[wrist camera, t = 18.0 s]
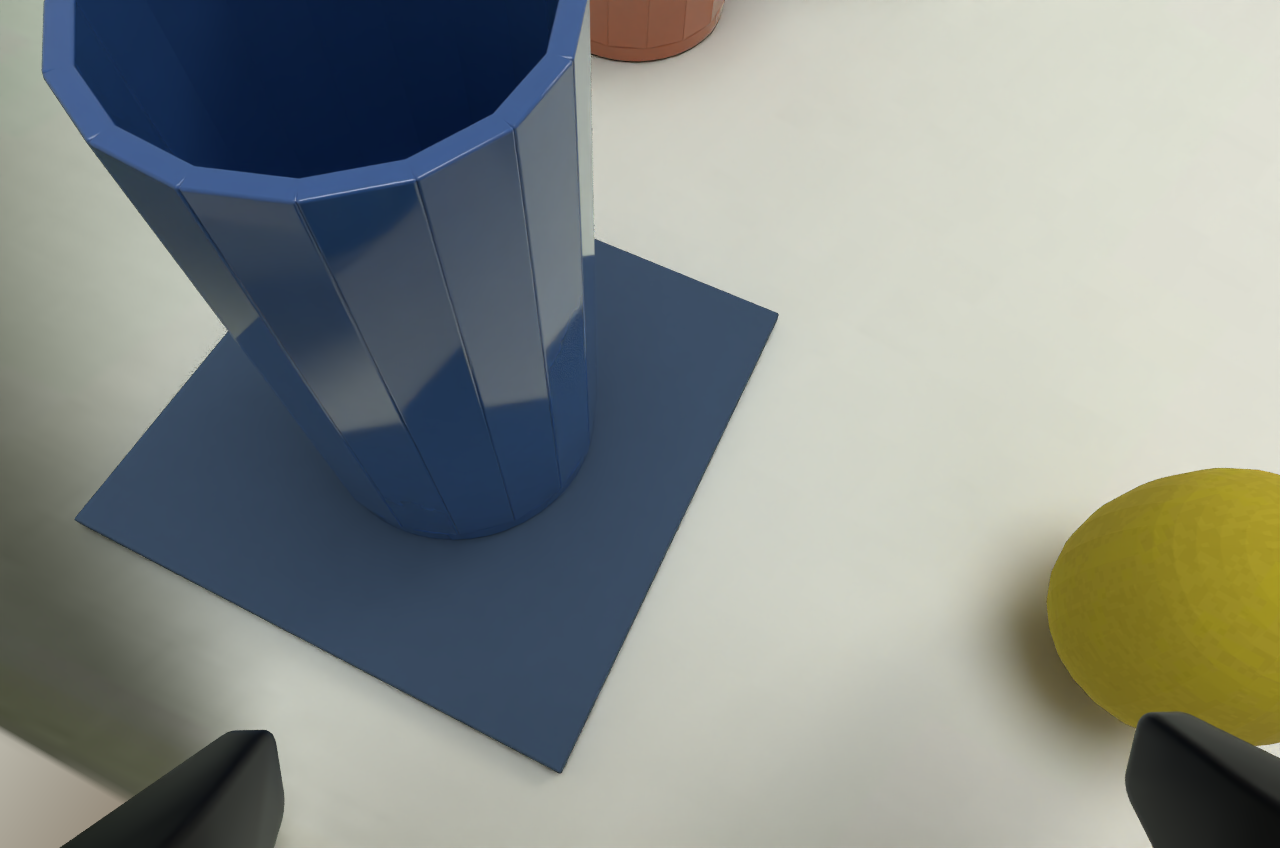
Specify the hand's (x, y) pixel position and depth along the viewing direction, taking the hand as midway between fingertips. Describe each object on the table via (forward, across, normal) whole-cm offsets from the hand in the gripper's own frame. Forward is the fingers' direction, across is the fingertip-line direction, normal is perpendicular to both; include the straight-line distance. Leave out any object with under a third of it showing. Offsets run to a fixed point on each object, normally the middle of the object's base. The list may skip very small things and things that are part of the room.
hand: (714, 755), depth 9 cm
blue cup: (+15, +5, +1) cm, 16 cm away
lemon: (+11, -12, +6) cm, 17 cm away
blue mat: (+16, +5, +1) cm, 17 cm away
